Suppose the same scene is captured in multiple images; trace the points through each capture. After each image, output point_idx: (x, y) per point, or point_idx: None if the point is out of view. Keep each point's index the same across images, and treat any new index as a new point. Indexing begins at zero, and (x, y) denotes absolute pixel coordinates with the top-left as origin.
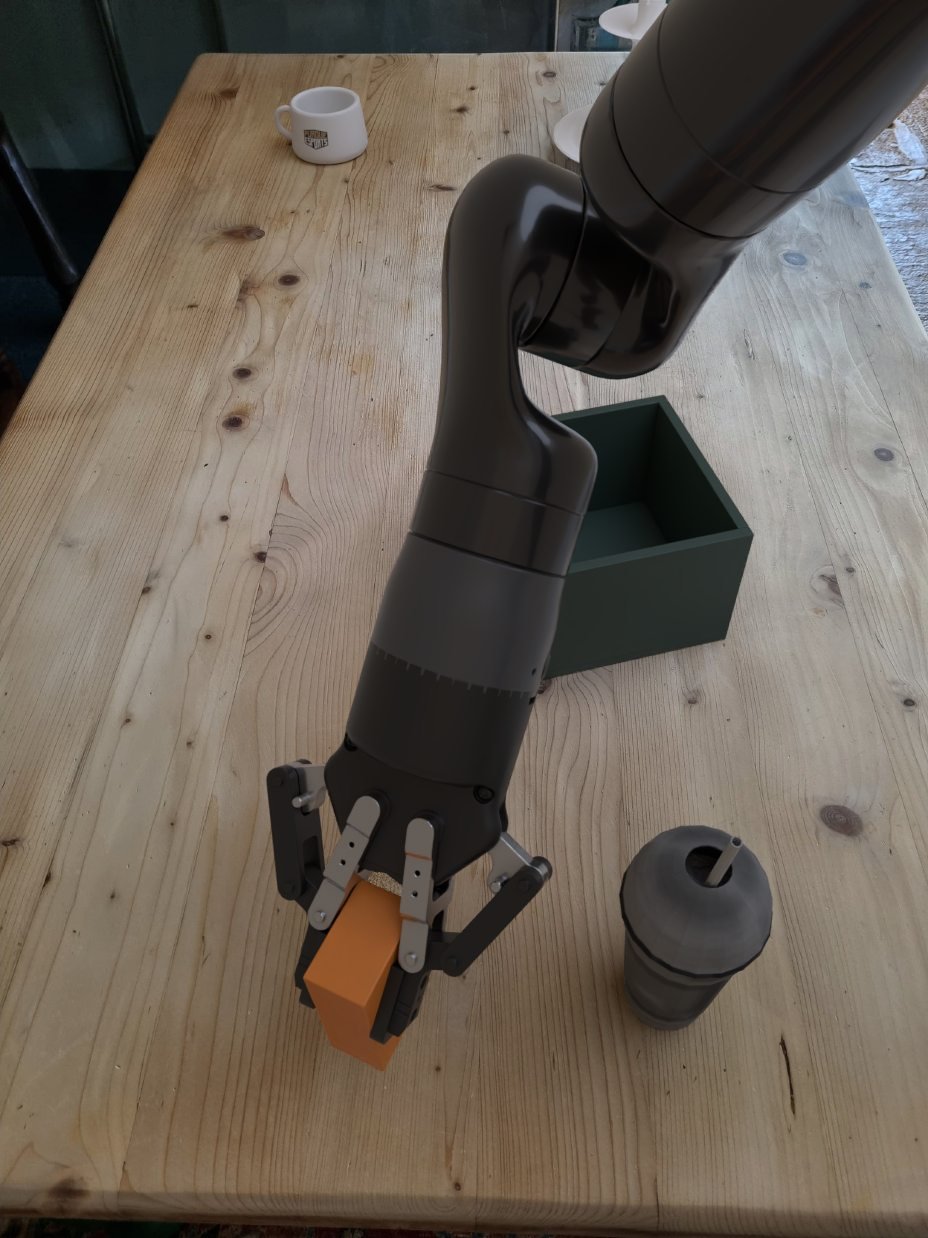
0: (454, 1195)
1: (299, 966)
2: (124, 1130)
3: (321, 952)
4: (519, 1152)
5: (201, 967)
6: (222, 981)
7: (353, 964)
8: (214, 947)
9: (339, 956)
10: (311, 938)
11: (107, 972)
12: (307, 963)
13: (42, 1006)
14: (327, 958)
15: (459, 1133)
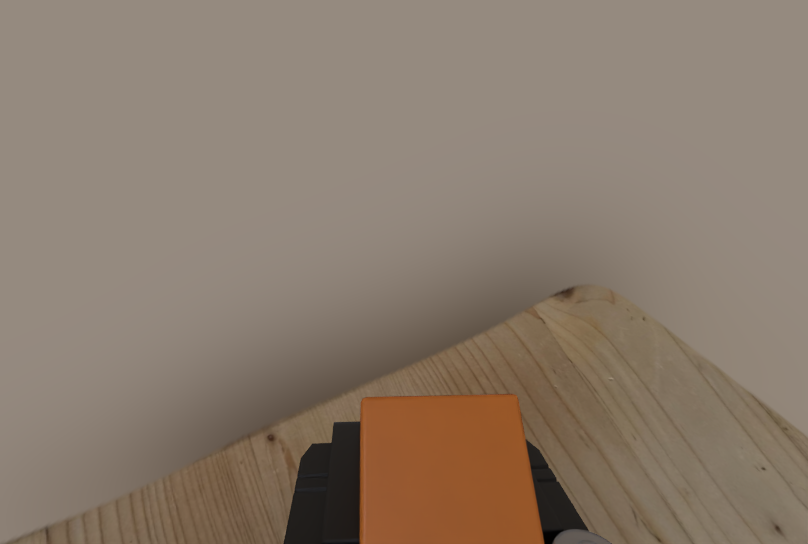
0: (271, 428)
1: (541, 463)
2: (563, 340)
3: (521, 467)
4: (215, 500)
5: (631, 505)
6: (600, 502)
7: (436, 478)
8: (639, 535)
9: (478, 479)
10: (563, 516)
11: (697, 447)
12: (533, 473)
13: (709, 390)
14: (500, 460)
15: (285, 485)
